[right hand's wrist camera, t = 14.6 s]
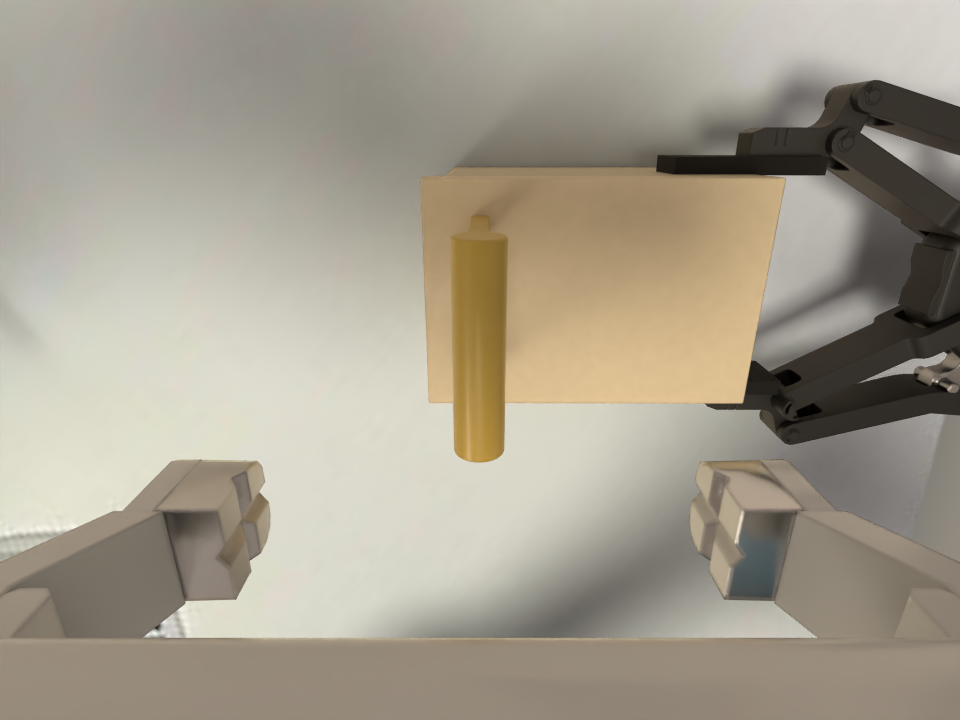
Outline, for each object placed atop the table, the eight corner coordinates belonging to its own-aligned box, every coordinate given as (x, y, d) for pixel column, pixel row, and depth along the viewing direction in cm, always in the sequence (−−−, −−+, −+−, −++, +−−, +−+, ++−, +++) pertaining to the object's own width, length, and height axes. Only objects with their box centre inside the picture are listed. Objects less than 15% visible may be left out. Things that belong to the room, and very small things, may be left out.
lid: (430, 392, 26) (409, 495, 19) (423, 175, 23) (393, 192, 15) (731, 392, 26) (836, 496, 18) (771, 176, 23) (921, 193, 15)
